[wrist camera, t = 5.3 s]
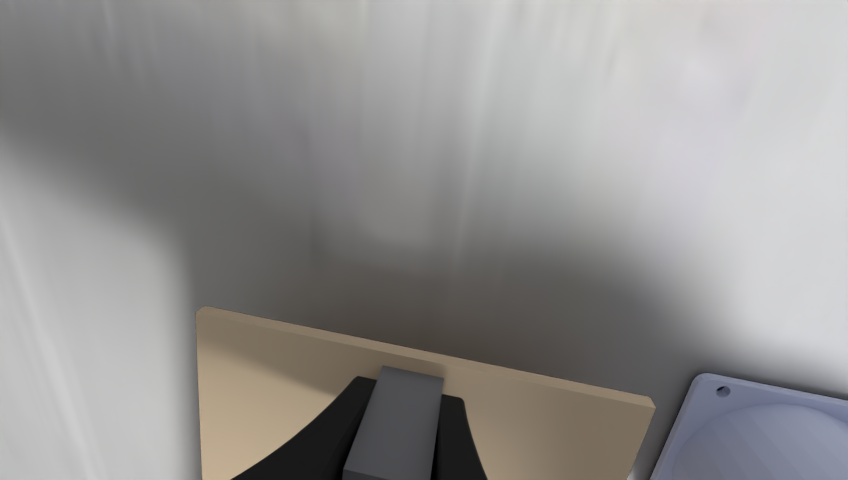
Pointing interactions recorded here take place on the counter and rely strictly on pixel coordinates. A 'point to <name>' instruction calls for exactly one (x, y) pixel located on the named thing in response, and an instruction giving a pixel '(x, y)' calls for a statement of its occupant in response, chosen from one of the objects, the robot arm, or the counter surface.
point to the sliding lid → (400, 406)
